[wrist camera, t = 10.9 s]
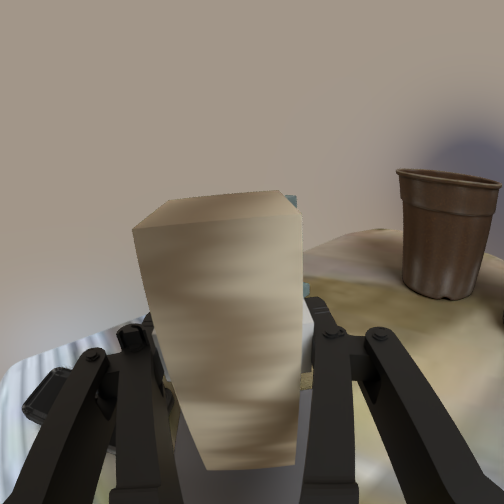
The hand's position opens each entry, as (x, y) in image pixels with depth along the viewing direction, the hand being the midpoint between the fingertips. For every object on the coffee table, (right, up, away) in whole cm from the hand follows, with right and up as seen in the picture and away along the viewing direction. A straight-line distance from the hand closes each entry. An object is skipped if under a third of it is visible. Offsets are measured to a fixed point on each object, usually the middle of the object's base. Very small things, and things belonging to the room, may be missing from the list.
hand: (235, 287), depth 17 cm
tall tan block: (+1, -9, -2) cm, 10 cm away
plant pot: (+29, -3, +20) cm, 35 cm away
